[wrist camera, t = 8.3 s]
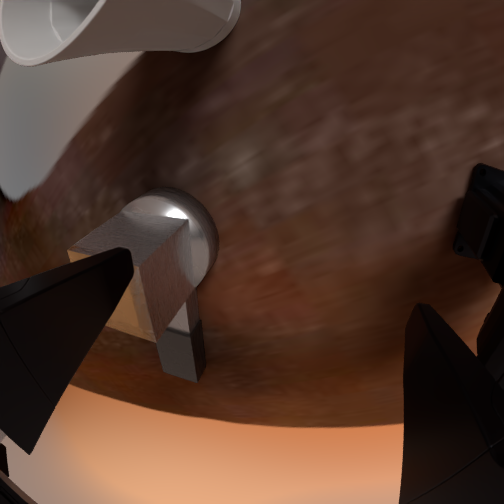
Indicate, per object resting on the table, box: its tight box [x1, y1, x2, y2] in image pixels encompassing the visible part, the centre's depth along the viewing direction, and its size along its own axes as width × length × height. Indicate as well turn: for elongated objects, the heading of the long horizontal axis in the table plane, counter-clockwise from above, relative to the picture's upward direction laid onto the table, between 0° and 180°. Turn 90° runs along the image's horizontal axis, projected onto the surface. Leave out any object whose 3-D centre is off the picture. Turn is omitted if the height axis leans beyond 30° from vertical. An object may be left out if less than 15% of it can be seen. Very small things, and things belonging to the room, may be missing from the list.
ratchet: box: [121, 187, 219, 383], centre depth 24 cm, size 20×8×6 cm, turn 178°
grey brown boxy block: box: [67, 211, 195, 343], centre depth 19 cm, size 6×6×6 cm
